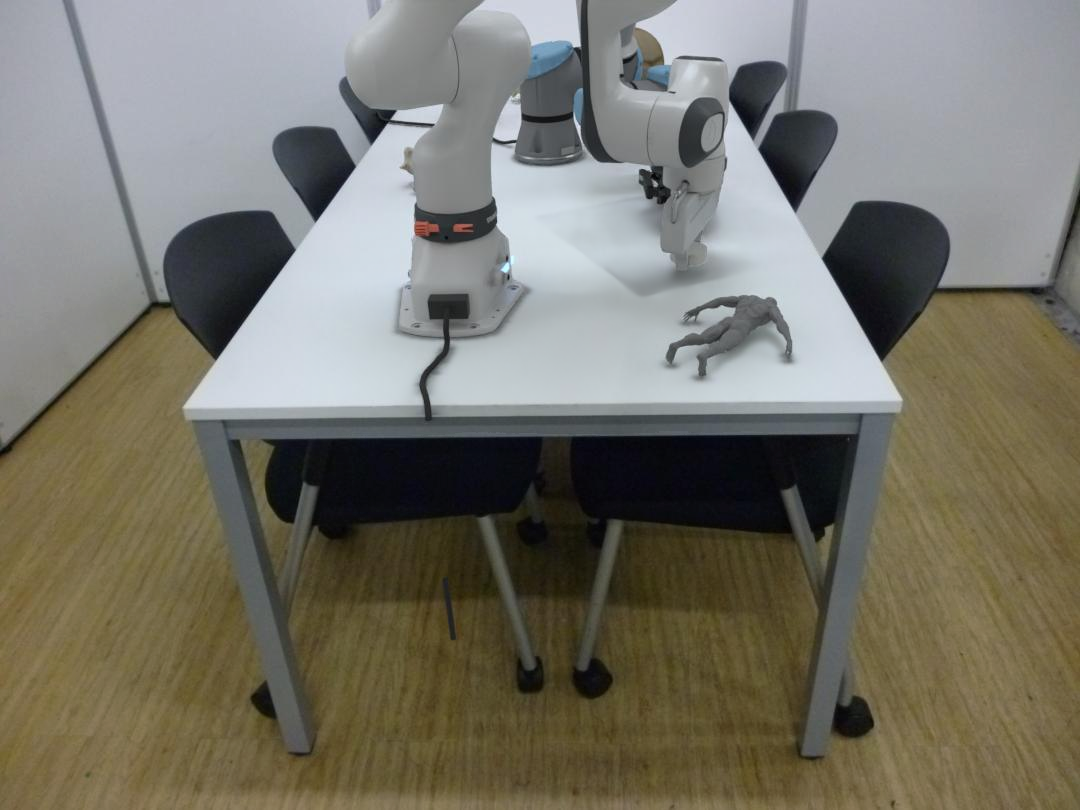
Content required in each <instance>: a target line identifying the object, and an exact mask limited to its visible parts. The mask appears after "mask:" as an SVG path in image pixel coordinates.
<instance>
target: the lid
mask: <svg viewBox="0 0 1080 810" xmlns="http://www.w3.org/2000/svg"><path fill="white" fill-rule="evenodd" d="M669 254H670V255H669V259H670V261H671V263H674V264H675V263H676V259H675V255H674V254H671V253H669ZM688 256H690V260H689V266H688V267H694V266H695V267H696V266H700V265H703V264H705V263H706V262H707V259H708V246H707V245H706V244H705V243H703V242H701V243H700V242H695V241H693V243H692V244H691V245H690V247H689V250H688Z"/></svg>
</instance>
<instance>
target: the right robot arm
mask: <svg viewBox="0 0 1080 810" xmlns="http://www.w3.org/2000/svg"><path fill="white" fill-rule="evenodd" d="M581 1H582V0H575V6H576V15H577V16H576V17H577V25H578V31H579V32H578V34H579V44H580V46H575V47H574V46H573V43H572V42H571V41H568V40H555V41H552V40H550V41H544V42H541V43H537V44H533V45H531V46H532V61H531V66H530V70H529V72H528V75H527V77H526V79H525V80H524V82H523V83H522V84H521V85H520V94H519V99H520V116H521V117H520V120H521V121H520V125H519V130H518V134H517V138H516V139H511V140H500V139H497V138H495V137H493V140H492V142H494V143H496V144H499V145H512V144H515V146H514V158H515V160H517V161H519V162H520V163H524V164H527V165H535V166H554V165H562V164H567V163H571V162H575V161H577V160H579V159H580V158H582V157H583V154H584V153H583V142H582V139H581V136H580V133H579V131H578V128H577V125H576V123H577V124H578V125H579V126H580V127H581V114H582V104H583V86H582V61H581V29H580V18H581ZM635 27H637V23H635V24H632V25H630V26H628V27H626V28H624V29H622V30H620V81H621V82H622V83H623V84H624V85H625V86H627V87H629V88H631V89H635V90H646V91H658V92H667V90H668V82H669V76H670V70H671V65H672V64H664V65H657V66H654V67H650V68H649V69H648V71H647V76H646V80H641V77H642V71H643V67H642V66H641V65H642V63H643V59H642V54H641V50H640V48H639V47H638V45H637V41H636V39H635V38H634V36H633V34H634V30H635ZM640 80H641V81H640ZM375 116H378V118H379V119H380V121H382V122H385V123H389V124H399V125H407V126H410V125H411V126H421V127H423V126H424V127H433V126H434V125H435V124H436V123H431V122H430V123H429V122H418V121H404V120H397V119H396V120H395V119H389V118H384V116H382V114H381V111H380V109H377V110H376V112H375ZM575 120H576V121H575ZM649 168H650V170H647V169H646V168H639V169H638V184H639V185H640V186H642V188H643V192H644V195H645V199H646V200H653V199H654V198H656V204H657V205H664V204H665V203H666V201H667V199H668V198H669V197H670V196H671V189H669V188H667V187H665V186H664V184H663V167H662V166H649ZM654 182H656V185H657V186H654Z"/></svg>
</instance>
